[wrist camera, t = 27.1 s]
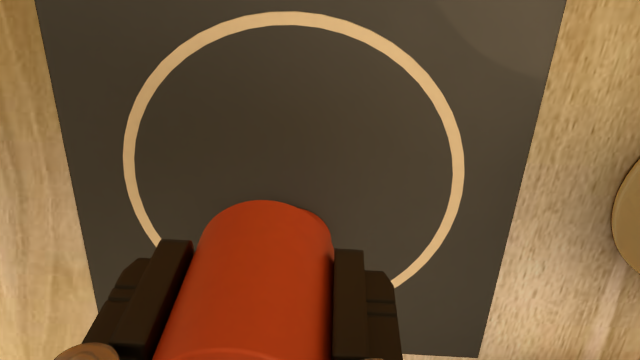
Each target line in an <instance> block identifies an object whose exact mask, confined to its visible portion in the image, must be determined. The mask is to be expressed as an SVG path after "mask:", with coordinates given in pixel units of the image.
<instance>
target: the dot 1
mask: <svg viewBox="0 0 640 360" xmlns="http://www.w3.org/2000/svg"><path fill="white" fill-rule="evenodd" d="M333 272H334V248H333V245H332V242H331V240H330V238H329V236H328V234H327V233H326V231H325V230H324V229H323V227H322V226H321V225H320V224H319V223H318V222H317V221H316V220H315V219H314V218H313V217H311V216H310V215H309V214H307V213H306V212H304V211H303V210H301V209H299V208H297V207H294V206H292V205H289V204H286V203H282V202H278V201H271V200H253V201H246V202H242V203H239V204H236V205H233V206H231V207H229V208H227V209H225V210H223V211H222V212H220V213H219V214H217V215H216V216H215V217H214V218H213V219H212V220H211V221H210V222H209V223H208V225H207V226H206V227H205V229H204V231H203V233H202V235H201V238H200V240H199V243H198V245H197V248H196V250H195V253H194V255H193V258H192V260H191V263H190V265H189V268H188V270H187V273H186V275H185V278H184V280H183V283H182V285H181V288H180V290H179V293H178V295H177V298H176V300H175V303H174V305H173V308H172V310H171V313H170V315H169V318H168V320H167V323H166V325H165V328H164V330H163V333H162V335H161V338H160V340H159V343H158V345H157V348H156V350H155V353H154V355H153V358H152V360H331V352H332V312H333Z"/></svg>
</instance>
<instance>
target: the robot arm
mask: <svg viewBox="0 0 640 360" xmlns="http://www.w3.org/2000/svg"><path fill="white" fill-rule="evenodd" d="M193 255H194V246H193V242H192V241H191V240H175V239H161V240H160V242H159V243H158V245H157V247H156V249H155V251H154V253H153V255H152V257H151V258H137V259H136V260H135V261H134V262H133V263H131V264H130V265H129V266H128V267H126V268H125V269H124V270H123V271H122V273H121V275H120V276H119V278H118V280H117V282H116V283H115V287H114V288H113V289H112V291H111V292H110V294H109V296H108V300H106V301H105V303H104V305H103V306H102V308H101V310H100V312H99V314H98V315H97V317H96V319H95V321H94V322H93V324H92V326H91V328H90V329H89V331H88V333H87V335H86V337H85V338H84V340H83V342H82V344H80V345H76V346H74V347H71V348H69V349H67V350H65V351H64V352H62V353H61V354H59V355H58V356H57V357H56V358H55V359H54V360H152V358H153V355H154V353H155V350H156V348H157V345H158V343H159V340H160V338H161V335H162V333H163V330H164V328H165V325H166V323H167V320H168V318H169V315H170V313H171V310H172V308H173V305H174V303H175V300H176V298H177V295H178V293H179V290H180V288H181V285H182V283H183V280H184V278H185V275H186V273H187V270H188V268H189V265H190V263H191V260H192V258H193ZM331 360H403V357H402V349H401V341H400V333H399V325H398V317H397V309H396V304H395V293H394V285H393V284H392V282H391V281H390V280H389V278H388V277H387V275H386V274H385V273H384V271H372V270H365V269H364V252H363V250H356V249H338V248H335V251H334V272H333V312H332V352H331Z"/></svg>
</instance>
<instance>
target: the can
mask: <svg viewBox="0 0 640 360" xmlns="http://www.w3.org/2000/svg"><path fill="white" fill-rule="evenodd" d="M612 233H613V238H614V241H615V244H616V246H617V248H618V251H619V253H620V254H621V256H622V257H623V258H624V260H625V261H626V262H627V263H628V264H629V265H630V266H631V267H632V268H633V269H634V270H635V271H637V272H638V273H639V274H640V159H639V160H638V162H637V163H636V164H635V165H634V167H633V168H632V169H631V171H630V172H629V173H628V175H627V176H626V178H625V180H624V181H623V183H622V185H621V187H620V189H619V191H618V194H617V196H616V199H615V202H614V206H613V211H612Z"/></svg>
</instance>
